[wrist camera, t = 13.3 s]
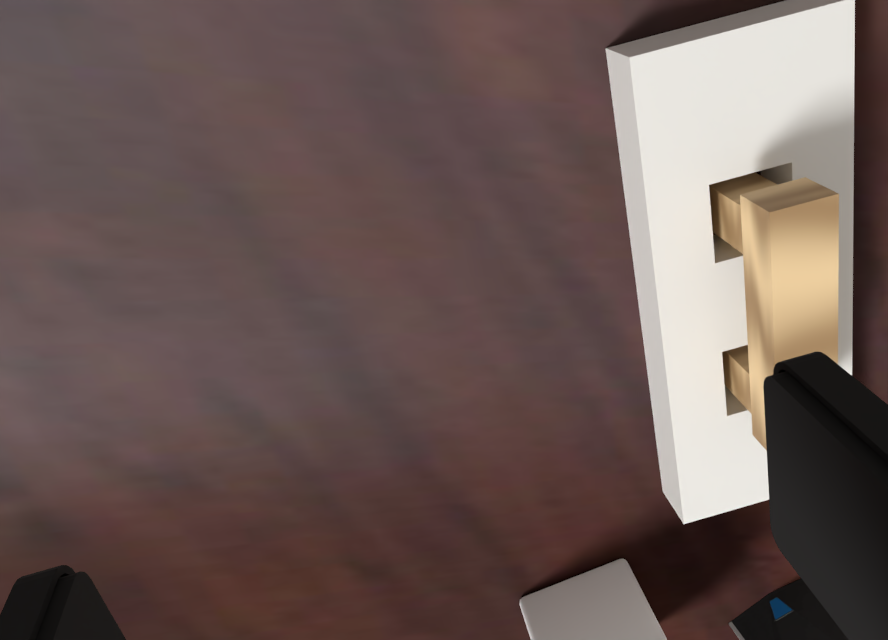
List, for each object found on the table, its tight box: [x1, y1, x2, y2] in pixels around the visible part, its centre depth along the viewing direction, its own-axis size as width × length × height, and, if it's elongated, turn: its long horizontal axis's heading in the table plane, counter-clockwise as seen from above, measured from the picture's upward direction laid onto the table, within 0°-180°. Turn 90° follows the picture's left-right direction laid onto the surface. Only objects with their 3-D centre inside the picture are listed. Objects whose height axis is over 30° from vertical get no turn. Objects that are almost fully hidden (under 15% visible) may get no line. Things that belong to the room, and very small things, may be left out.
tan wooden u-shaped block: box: [709, 172, 839, 451], centre depth 39 cm, size 13×3×8 cm, turn 12°
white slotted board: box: [606, 0, 855, 524], centre depth 41 cm, size 26×10×3 cm, turn 13°
